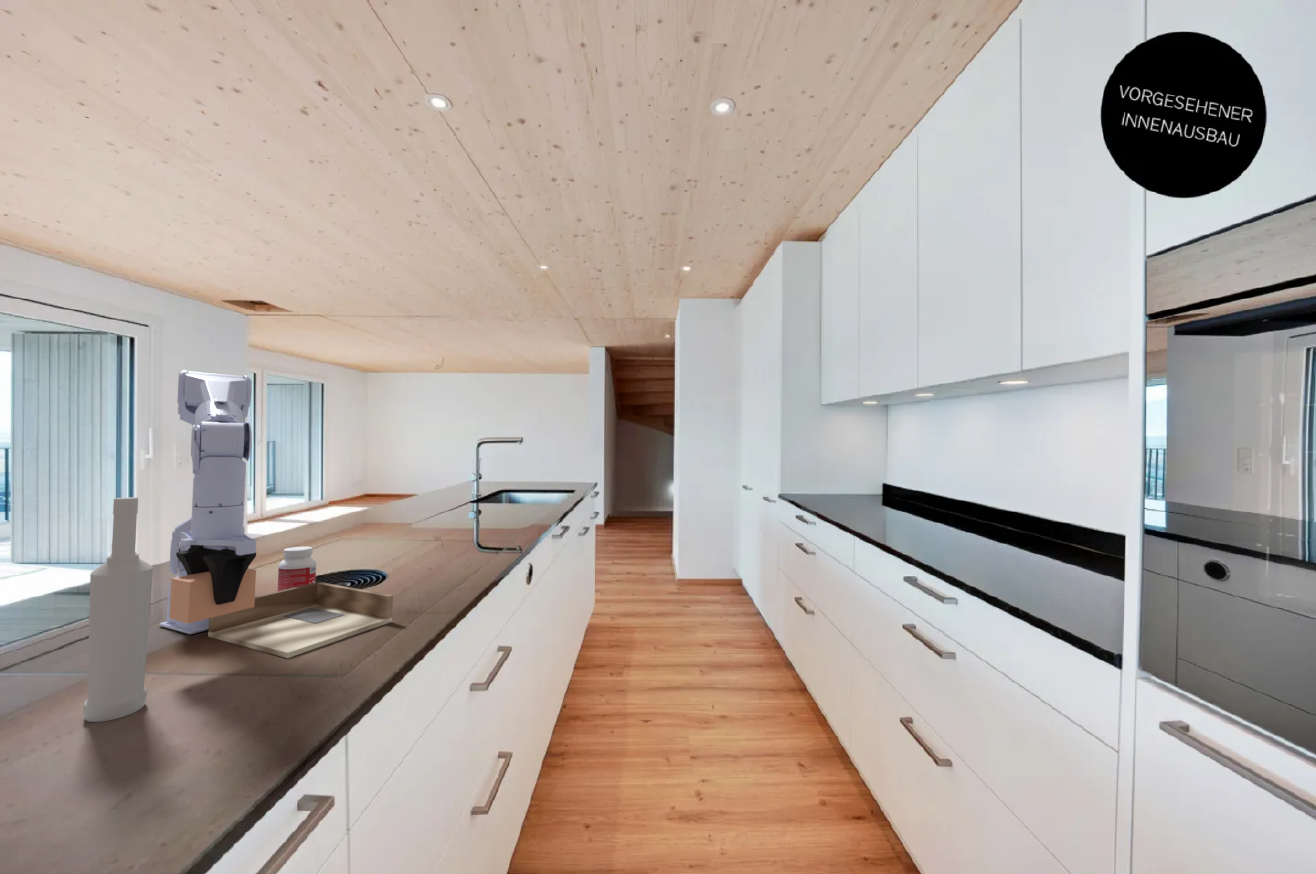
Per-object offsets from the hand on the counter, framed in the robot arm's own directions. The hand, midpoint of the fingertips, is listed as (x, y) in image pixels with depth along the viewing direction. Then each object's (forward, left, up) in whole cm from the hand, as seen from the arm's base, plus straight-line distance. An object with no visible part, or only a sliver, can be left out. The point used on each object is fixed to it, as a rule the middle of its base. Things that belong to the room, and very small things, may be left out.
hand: (214, 600), depth 73 cm
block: (0, 0, -2) cm, 2 cm away
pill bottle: (-18, +23, -9) cm, 31 cm away
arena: (-3, +15, -9) cm, 18 cm away
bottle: (+5, -12, -9) cm, 16 cm away
